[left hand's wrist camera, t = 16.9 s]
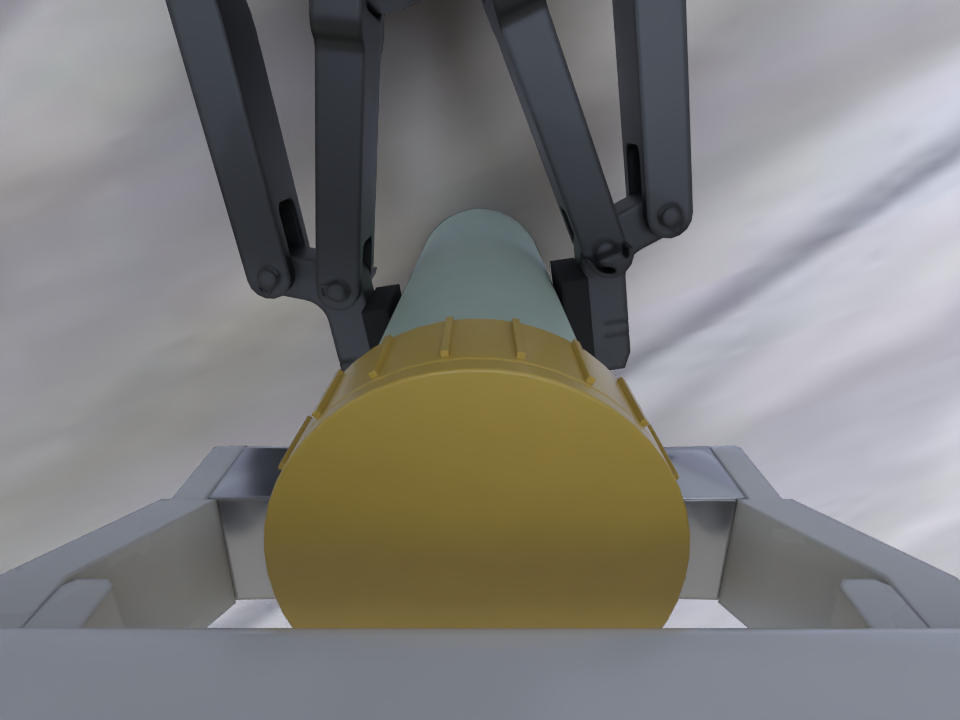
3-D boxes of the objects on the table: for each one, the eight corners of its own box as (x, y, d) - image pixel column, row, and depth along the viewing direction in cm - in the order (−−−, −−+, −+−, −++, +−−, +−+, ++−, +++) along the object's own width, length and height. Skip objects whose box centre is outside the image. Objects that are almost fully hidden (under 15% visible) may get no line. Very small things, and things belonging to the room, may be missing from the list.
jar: (490, 347, 26) (504, 708, 10) (397, 279, 25) (245, 562, 9) (564, 258, 25) (718, 513, 9) (468, 182, 23) (441, 310, 7)
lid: (731, 443, 10) (791, 520, 8) (516, 666, 12) (523, 770, 10) (425, 235, 9) (409, 266, 7) (239, 519, 10) (185, 608, 8)
